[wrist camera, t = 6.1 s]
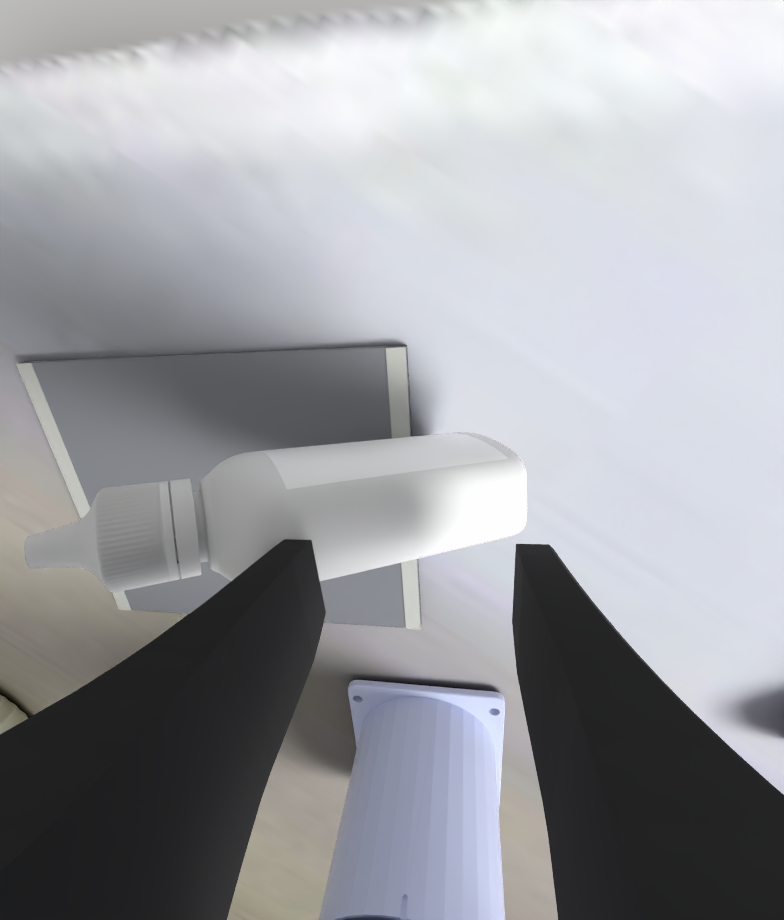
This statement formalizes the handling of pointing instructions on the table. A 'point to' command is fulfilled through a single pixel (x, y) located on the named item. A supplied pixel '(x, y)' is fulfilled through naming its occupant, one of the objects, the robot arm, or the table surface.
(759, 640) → the table surface
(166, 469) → the mat
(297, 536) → the eye dropper bottle
